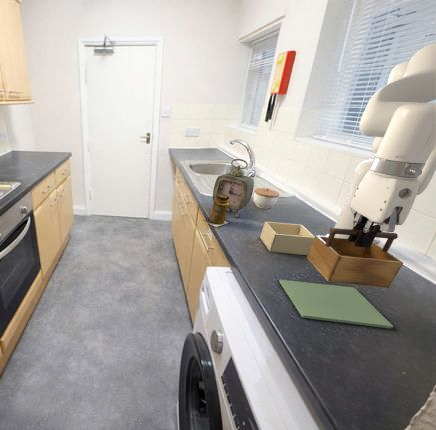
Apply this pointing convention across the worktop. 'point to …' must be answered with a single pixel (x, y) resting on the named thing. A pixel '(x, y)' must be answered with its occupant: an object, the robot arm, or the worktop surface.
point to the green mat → (333, 304)
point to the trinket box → (265, 197)
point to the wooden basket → (354, 259)
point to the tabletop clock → (235, 188)
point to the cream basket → (286, 238)
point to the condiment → (218, 211)
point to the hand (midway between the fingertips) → (358, 243)
